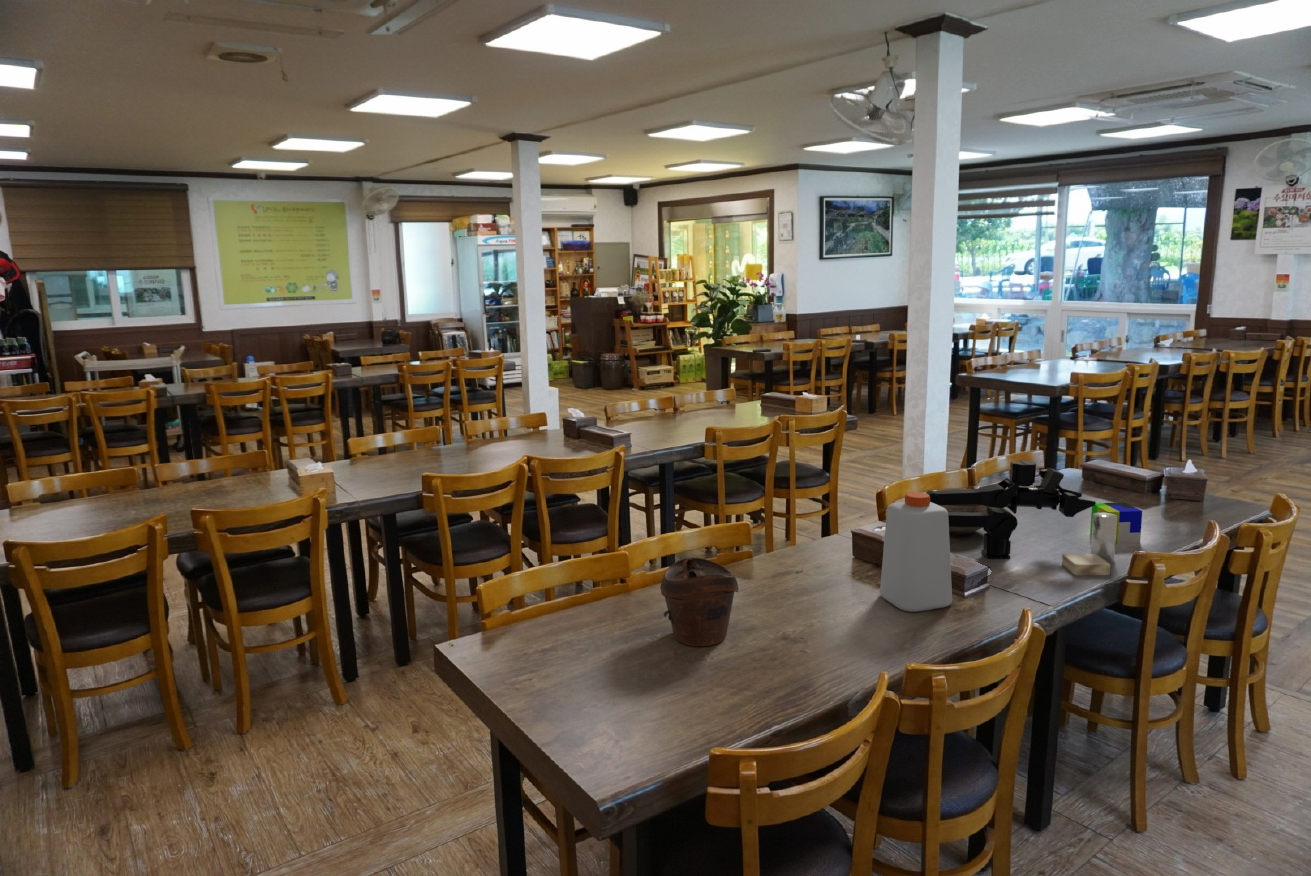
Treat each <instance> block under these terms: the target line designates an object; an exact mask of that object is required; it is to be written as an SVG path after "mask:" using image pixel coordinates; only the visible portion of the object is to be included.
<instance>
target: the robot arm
mask: <svg viewBox="0 0 1311 876" xmlns="http://www.w3.org/2000/svg"><path fill="white" fill-rule="evenodd" d="M1009 467H1010V471H1009V477H1006V478H1004V479H1003V480H1001V481H999V482H998V483H997V484H996V483H993V484H989V485H983V486H981V487H979V488H975V489H972V490H943V491H936V490H933V489H930V490H927V491H925V493H926V494H928V495H929V496H930V502H932V503H934V504H937V505H970V504H978V505H984V506H987V511H984V512H980V513H975V512H948V521H949V527H978V528H981V529H982V528H983V531H985V532H984V533H983V548H982V549H981V550H980V552H981V553H982V554H983V555H984V556H985V557H986V558H987V559H1010V558H1011V555H1010V554H1011V545H1012V541H1011V540H1010V538H1011V537H1012V534H1013V532H1014V531H1015V530H1016V529H1017V527H1018V519H1017V517H1016V516H1015V515H1016V514H1017V510H1018V508H1019V507H1020V508H1021V507H1023V508H1036V509H1037V510H1042V509H1043V508H1048V509H1052V510H1053V511H1056V510H1057V507H1058V511H1059V513H1060V514H1062V515H1063V516H1065V518H1074V517H1075V516H1076V515H1077V514H1078V513H1081V512H1083V511H1086V510H1088V509H1090V508H1092V507H1093V506H1095V504H1096V503H1097V502H1096V501H1095V500H1089V499H1085V498H1082V497H1083V493H1082V492H1079V491H1074V490H1072V489H1067V488H1063V487H1062V486H1061V485H1060V484H1061V481H1062V480H1063V479H1064V477H1065V475H1064V473H1063V472H1061V471H1059V470H1057V469H1054V468H1051V467H1046V469H1044V468H1043V469H1040V470H1039V471H1038V473H1037V475H1039V477H1040V478H1041V479H1040V483H1039V484H1035V485H1034V483H1035V481H1036V480H1035V479H1036V471H1037V462H1035V461H1031V460H1017V461H1011V462H1010V464H1009ZM1033 485H1034V486H1033ZM1031 486H1033V487H1031ZM1006 508H1007V509H1006ZM1008 509H1009V510H1008ZM1012 513H1013V514H1012ZM1014 514H1015V515H1014Z"/></svg>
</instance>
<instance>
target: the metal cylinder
mask: <svg viewBox="0 0 1311 876" xmlns="http://www.w3.org/2000/svg"><path fill="white" fill-rule="evenodd" d="M1116 526H1117V516H1116V515H1114V514H1111V513H1094V514H1093V524H1092V535H1091V541H1090V554H1097V555H1098V556H1100V557H1101V558H1102V559H1104V560H1105V561H1107V562H1108V563H1109V564H1113V563H1114V562H1115V556H1116V555H1115V554H1116V553H1115V552H1116V544H1115V541H1116Z"/></svg>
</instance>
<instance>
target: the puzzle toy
mask: <svg viewBox="0 0 1311 876" xmlns="http://www.w3.org/2000/svg"><path fill="white" fill-rule="evenodd" d="M1094 513H1111V514H1114V515H1116V516H1117V526H1116V541H1115V545H1117V544H1118V545H1120V544H1140V543H1141V535H1142V534H1141V532H1142V523H1143V510H1142V509H1140V508H1137V507H1135V506H1133V505H1131V504H1129V503H1128V502H1125V501H1121V502H1118V501H1117V502H1115V501H1114V502H1096V504H1095V506H1093V507H1091V514H1090V515H1091V516H1090V528H1089V529H1090V531H1089V534H1090V535H1091V536H1092V524H1093V514H1094Z"/></svg>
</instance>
